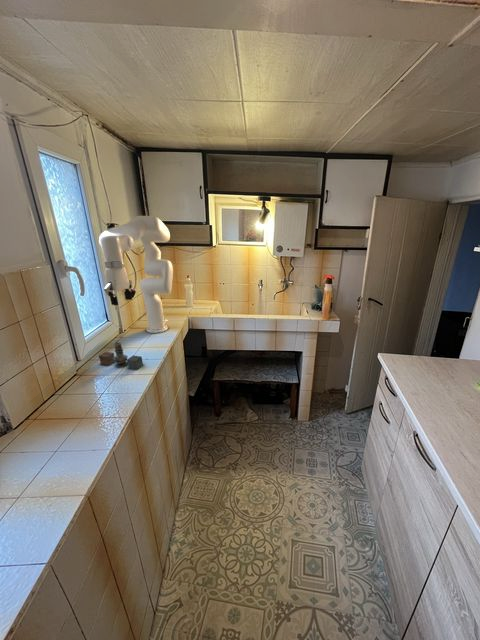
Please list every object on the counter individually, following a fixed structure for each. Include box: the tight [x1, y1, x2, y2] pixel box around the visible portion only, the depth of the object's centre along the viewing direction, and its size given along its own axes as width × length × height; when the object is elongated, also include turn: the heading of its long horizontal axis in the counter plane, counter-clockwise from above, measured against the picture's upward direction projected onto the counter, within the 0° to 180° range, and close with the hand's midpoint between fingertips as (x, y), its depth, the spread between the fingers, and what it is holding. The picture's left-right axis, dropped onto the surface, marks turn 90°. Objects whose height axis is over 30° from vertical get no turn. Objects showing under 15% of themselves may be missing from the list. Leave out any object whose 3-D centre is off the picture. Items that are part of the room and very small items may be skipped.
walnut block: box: [98, 351, 116, 366], centre depth 132 cm, size 4×4×4 cm
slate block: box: [126, 355, 144, 370], centre depth 129 cm, size 4×4×4 cm
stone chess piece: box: [113, 341, 128, 368], centre depth 129 cm, size 6×6×12 cm
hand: (122, 302), depth 133 cm, fingers open, 9 cm apart
